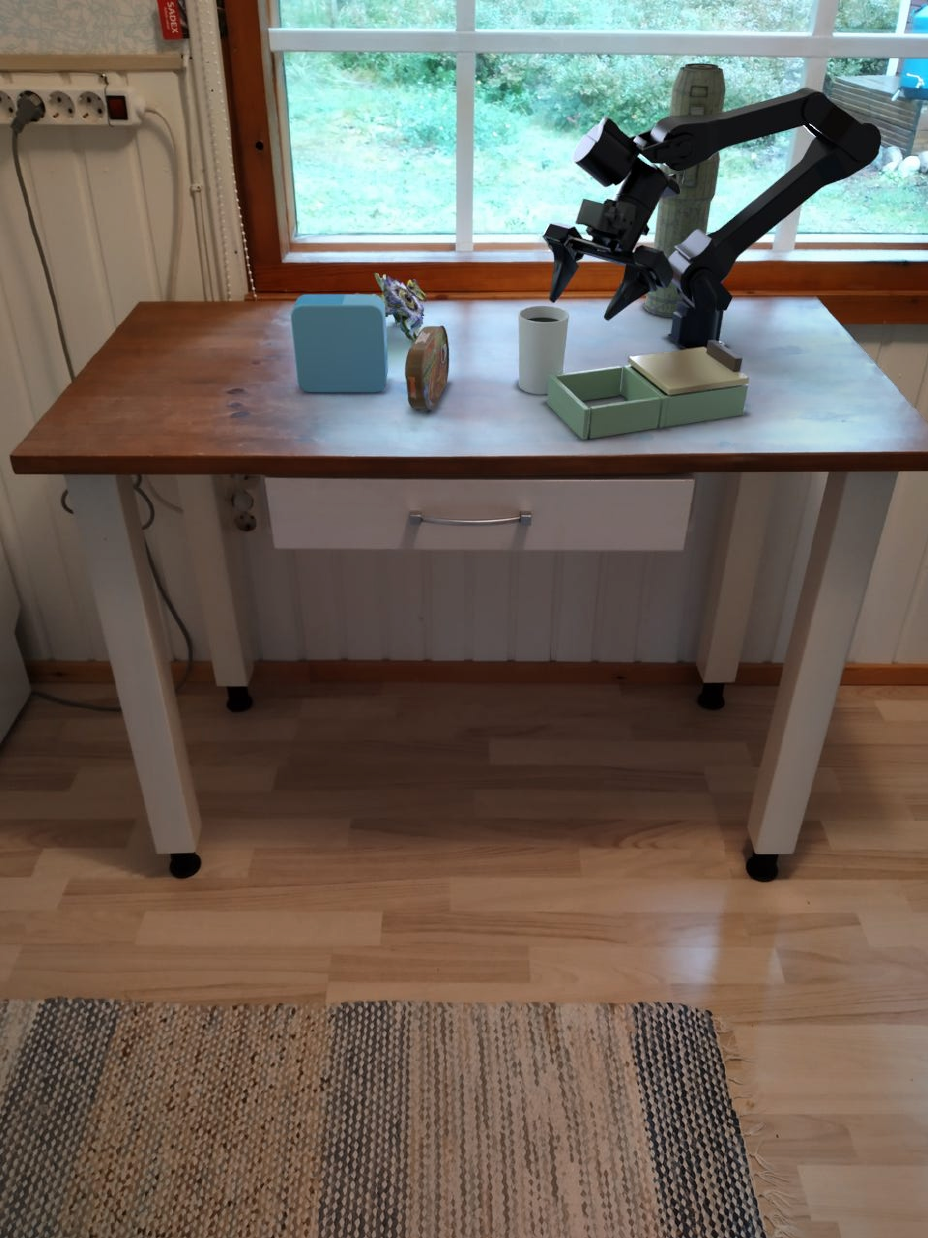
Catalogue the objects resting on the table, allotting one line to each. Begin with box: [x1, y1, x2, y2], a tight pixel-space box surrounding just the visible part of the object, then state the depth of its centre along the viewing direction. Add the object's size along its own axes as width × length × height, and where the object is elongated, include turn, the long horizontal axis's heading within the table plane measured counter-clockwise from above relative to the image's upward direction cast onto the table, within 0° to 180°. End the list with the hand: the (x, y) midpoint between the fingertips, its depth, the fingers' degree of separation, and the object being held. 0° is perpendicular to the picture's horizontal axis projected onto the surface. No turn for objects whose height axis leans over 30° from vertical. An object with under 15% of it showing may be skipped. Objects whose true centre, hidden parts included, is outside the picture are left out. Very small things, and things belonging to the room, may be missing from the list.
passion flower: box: [354, 272, 428, 342], centre depth 149 cm, size 11×11×12 cm
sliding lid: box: [627, 340, 750, 395], centre depth 128 cm, size 11×11×3 cm
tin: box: [404, 325, 450, 411], centre depth 131 cm, size 15×3×8 cm, turn 168°
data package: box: [290, 293, 389, 393], centre depth 132 cm, size 12×4×12 cm, turn 90°
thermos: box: [644, 62, 727, 318], centre depth 151 cm, size 9×12×35 cm
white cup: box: [517, 305, 570, 395], centre depth 133 cm, size 7×7×10 cm
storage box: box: [546, 364, 749, 441], centre depth 129 cm, size 23×11×4 cm, turn 109°
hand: (578, 310), depth 135 cm, fingers open, 9 cm apart
